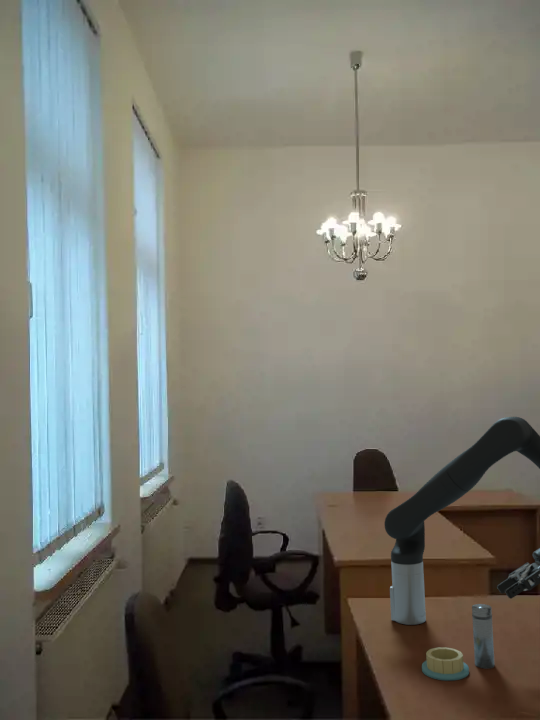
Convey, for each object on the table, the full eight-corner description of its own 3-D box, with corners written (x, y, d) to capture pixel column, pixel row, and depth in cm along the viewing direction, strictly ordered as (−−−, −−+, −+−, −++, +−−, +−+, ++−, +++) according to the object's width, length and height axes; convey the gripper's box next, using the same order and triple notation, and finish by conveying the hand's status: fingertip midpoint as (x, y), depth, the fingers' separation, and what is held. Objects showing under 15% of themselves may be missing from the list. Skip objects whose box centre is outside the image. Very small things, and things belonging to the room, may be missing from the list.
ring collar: (414, 674, 168) (414, 657, 168) (432, 658, 177) (431, 642, 177) (459, 684, 162) (458, 666, 162) (475, 667, 171) (474, 650, 171)
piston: (472, 666, 171) (469, 608, 172) (478, 659, 175) (475, 602, 176) (491, 670, 169) (488, 611, 169) (497, 663, 173) (494, 605, 173)
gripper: (539, 540, 180) (487, 576, 179) (557, 544, 166) (500, 582, 165) (558, 566, 178) (505, 602, 178) (577, 572, 164) (519, 611, 164)
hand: (503, 592), depth 172 cm, fingers open, 8 cm apart
